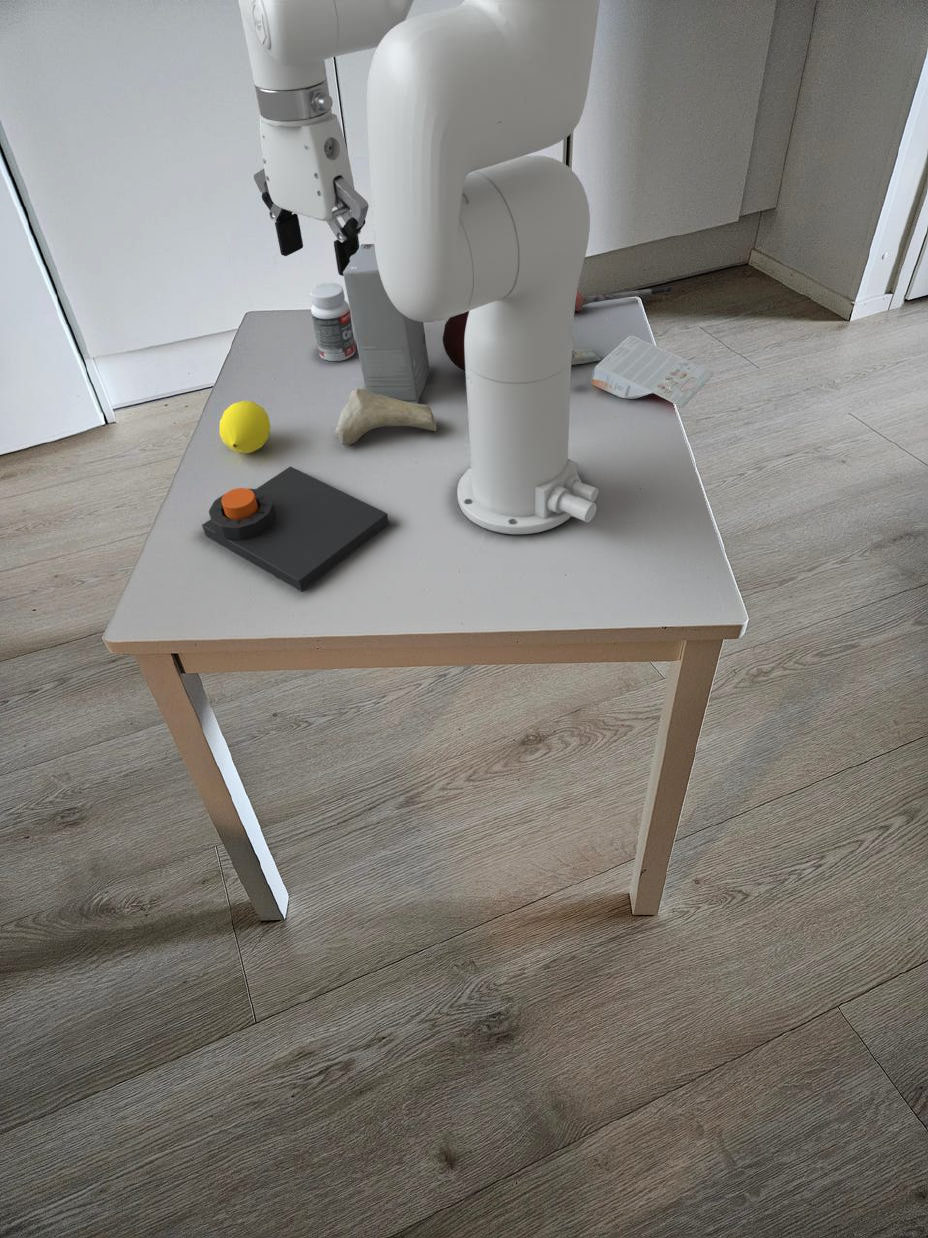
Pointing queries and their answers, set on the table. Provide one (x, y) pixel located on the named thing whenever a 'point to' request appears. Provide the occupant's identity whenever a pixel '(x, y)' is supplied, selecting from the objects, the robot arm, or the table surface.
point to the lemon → (244, 427)
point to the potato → (455, 339)
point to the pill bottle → (332, 322)
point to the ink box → (648, 372)
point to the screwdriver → (615, 296)
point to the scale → (297, 527)
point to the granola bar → (583, 356)
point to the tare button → (239, 503)
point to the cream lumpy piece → (379, 415)
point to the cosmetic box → (384, 333)
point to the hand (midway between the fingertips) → (320, 261)
